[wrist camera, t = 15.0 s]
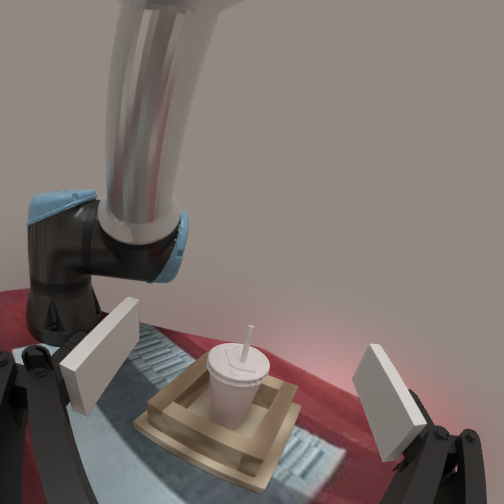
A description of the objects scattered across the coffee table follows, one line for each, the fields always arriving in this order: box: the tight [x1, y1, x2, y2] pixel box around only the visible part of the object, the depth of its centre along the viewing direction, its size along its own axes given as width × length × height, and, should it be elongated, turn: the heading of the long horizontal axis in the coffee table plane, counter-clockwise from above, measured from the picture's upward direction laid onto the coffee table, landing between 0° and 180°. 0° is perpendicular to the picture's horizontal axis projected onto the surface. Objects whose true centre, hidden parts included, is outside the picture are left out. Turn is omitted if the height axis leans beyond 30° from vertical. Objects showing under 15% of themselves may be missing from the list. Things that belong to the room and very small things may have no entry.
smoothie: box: [206, 325, 270, 430], centre depth 27 cm, size 6×6×14 cm
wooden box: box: [133, 351, 301, 495], centre depth 28 cm, size 16×15×6 cm
